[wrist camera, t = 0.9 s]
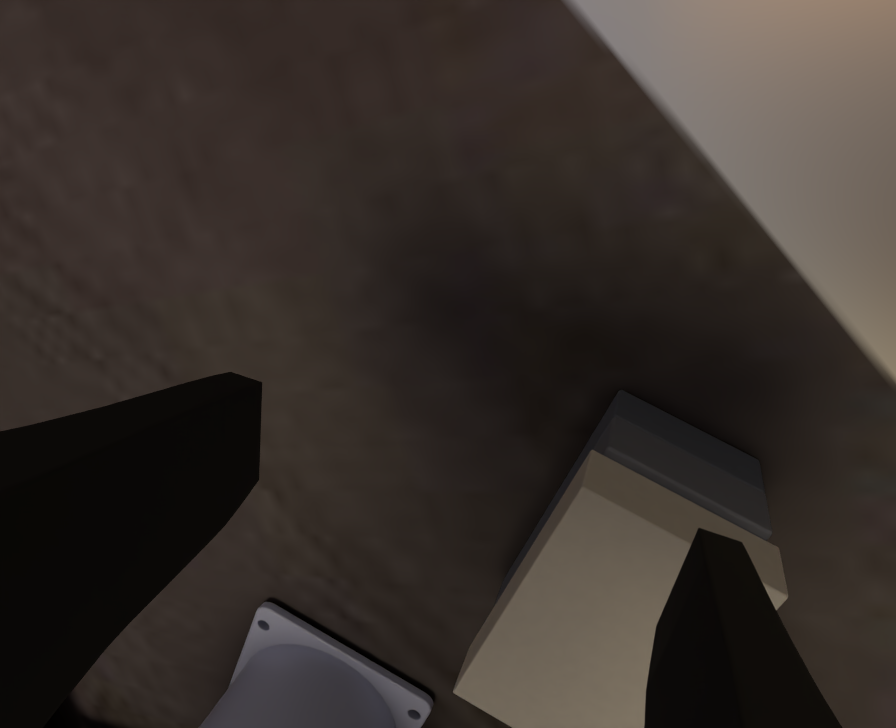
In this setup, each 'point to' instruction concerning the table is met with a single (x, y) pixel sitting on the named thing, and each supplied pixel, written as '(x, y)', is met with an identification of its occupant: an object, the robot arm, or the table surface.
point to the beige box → (593, 603)
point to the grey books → (672, 466)
